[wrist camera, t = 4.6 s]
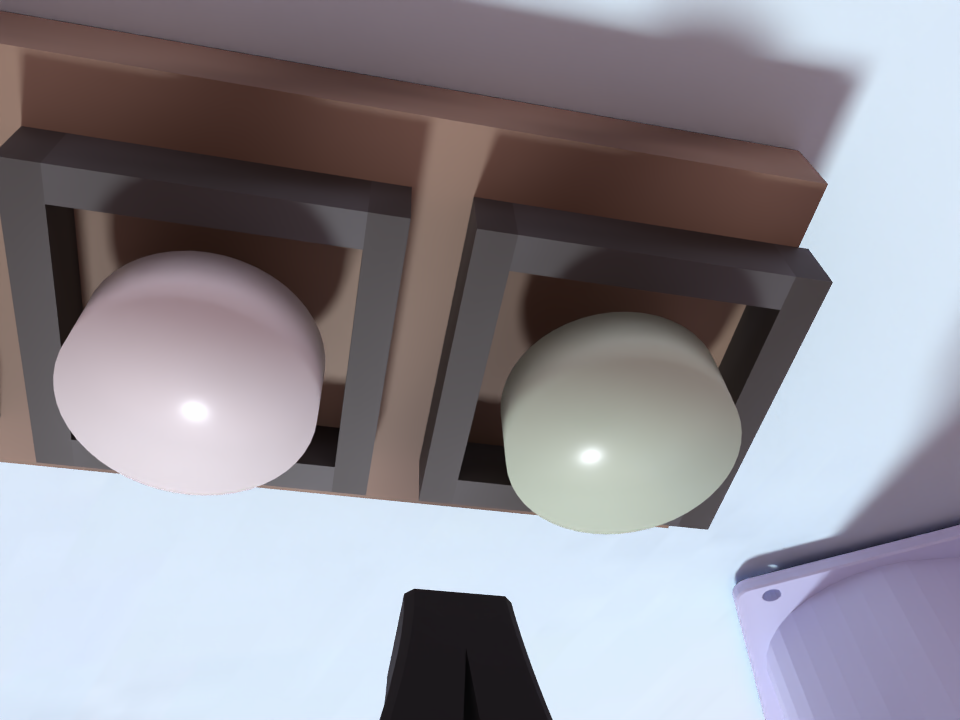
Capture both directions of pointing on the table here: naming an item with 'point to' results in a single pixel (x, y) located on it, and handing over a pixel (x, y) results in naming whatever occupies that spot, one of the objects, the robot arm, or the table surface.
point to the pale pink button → (192, 374)
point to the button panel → (383, 241)
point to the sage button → (617, 424)
